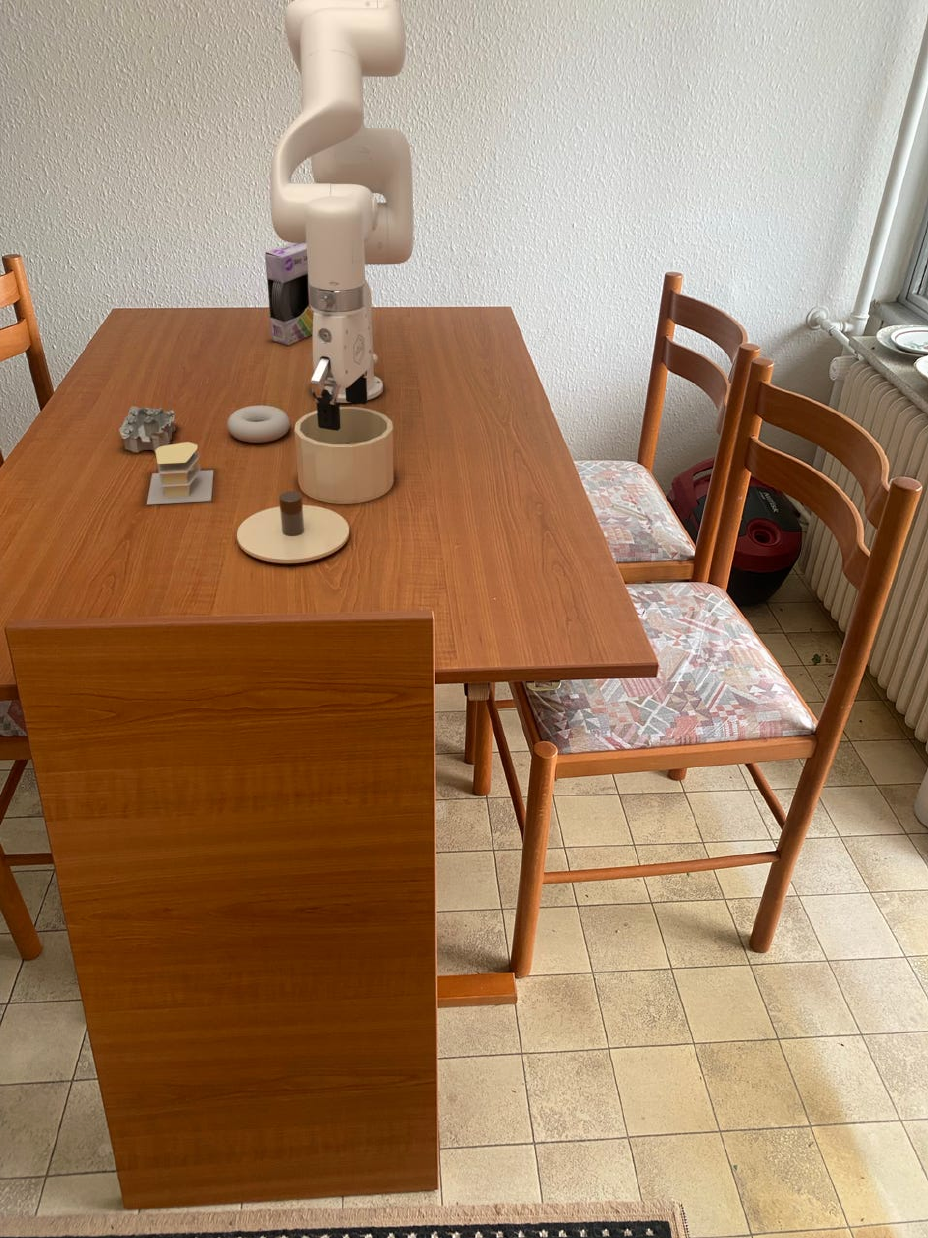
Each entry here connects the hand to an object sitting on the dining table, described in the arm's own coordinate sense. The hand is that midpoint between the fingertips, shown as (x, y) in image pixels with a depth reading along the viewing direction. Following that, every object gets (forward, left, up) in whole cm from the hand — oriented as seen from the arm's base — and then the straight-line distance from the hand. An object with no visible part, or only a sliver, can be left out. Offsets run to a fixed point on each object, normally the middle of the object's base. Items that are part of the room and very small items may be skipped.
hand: (343, 415), depth 149 cm
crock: (0, 0, -11) cm, 11 cm away
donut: (-11, -20, -11) cm, 25 cm away
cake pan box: (-58, -33, -11) cm, 68 cm away
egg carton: (-3, -35, -11) cm, 37 cm away
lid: (+18, 0, -10) cm, 21 cm away
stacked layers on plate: (+10, -22, -11) cm, 26 cm away
